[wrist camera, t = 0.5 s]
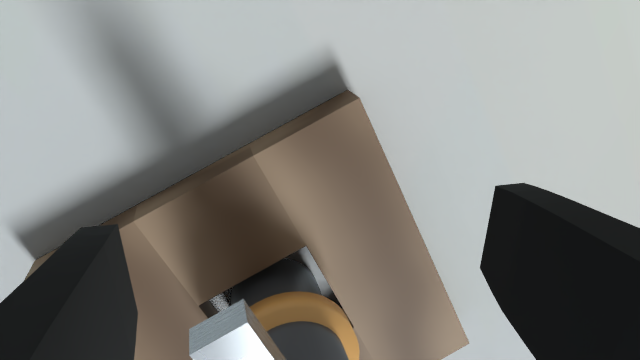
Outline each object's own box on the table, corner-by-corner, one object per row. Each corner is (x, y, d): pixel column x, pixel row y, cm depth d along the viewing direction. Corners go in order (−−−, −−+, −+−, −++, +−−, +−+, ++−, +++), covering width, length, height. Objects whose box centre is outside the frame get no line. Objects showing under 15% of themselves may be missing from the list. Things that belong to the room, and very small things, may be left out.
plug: (252, 361, 24) (275, 498, 18) (194, 284, 22) (196, 410, 15) (347, 307, 24) (403, 425, 18) (299, 225, 22) (344, 327, 16)
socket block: (217, 459, 26) (228, 634, 19) (34, 260, 20) (-47, 412, 13) (455, 324, 26) (549, 447, 19) (348, 89, 20) (430, 148, 13)
